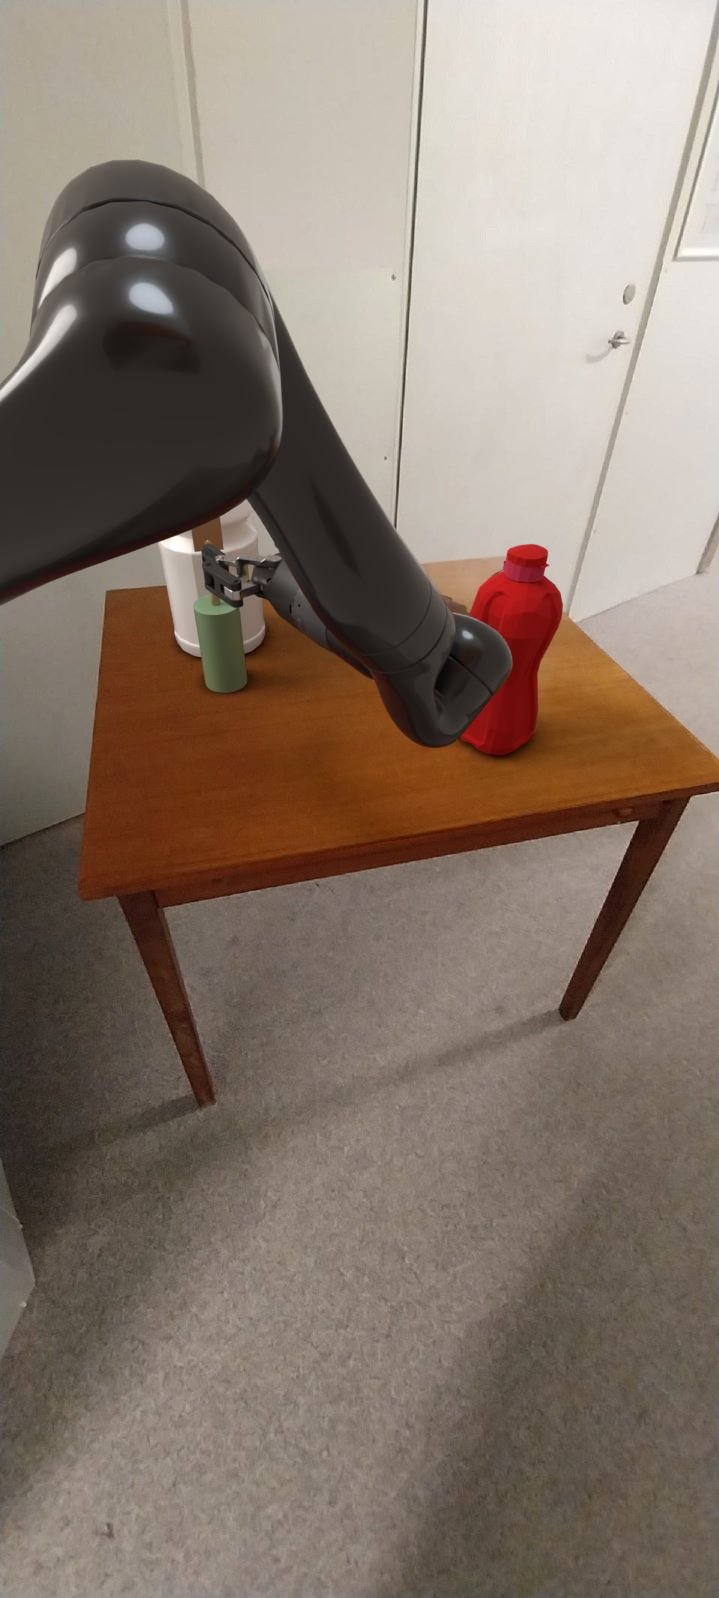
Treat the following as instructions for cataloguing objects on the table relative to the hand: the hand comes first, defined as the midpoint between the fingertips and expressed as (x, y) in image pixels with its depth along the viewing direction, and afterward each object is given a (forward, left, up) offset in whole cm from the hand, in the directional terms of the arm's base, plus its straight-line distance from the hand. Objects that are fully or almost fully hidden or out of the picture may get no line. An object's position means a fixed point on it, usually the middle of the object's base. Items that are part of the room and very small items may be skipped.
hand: (242, 544), depth 71 cm
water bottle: (+29, -8, -25) cm, 39 cm away
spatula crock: (-3, +12, -24) cm, 27 cm away
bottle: (-2, +25, -25) cm, 35 cm away
